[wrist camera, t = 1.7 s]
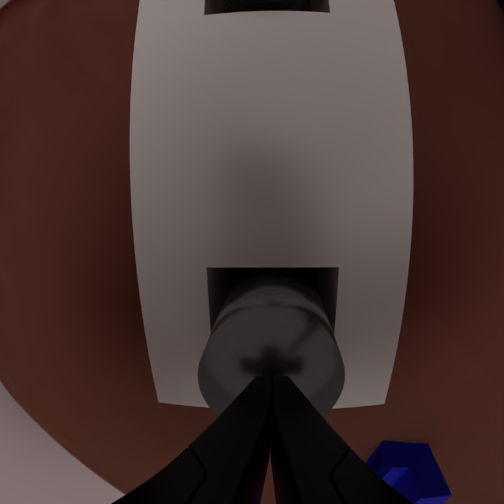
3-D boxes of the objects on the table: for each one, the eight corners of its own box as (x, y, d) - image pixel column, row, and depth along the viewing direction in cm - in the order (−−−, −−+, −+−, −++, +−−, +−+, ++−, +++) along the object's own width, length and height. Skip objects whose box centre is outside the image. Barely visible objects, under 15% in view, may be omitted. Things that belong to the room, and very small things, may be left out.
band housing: (351, -24, 12) (371, -74, 7) (360, 350, 17) (384, 403, 12) (179, -21, 13) (153, -69, 8) (185, 349, 17) (158, 402, 13)
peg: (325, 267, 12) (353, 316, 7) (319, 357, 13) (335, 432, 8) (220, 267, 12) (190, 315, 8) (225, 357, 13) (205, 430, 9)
